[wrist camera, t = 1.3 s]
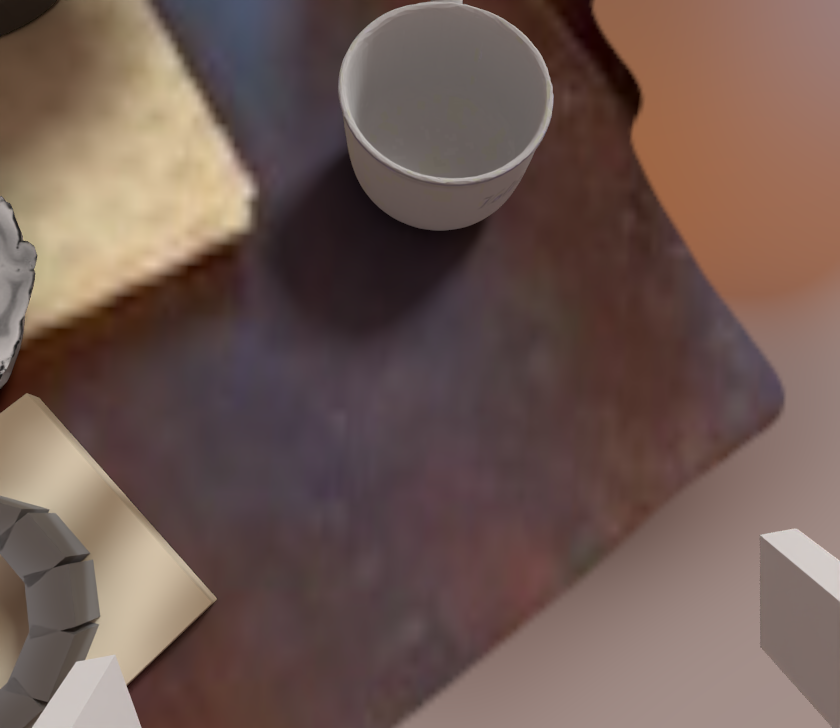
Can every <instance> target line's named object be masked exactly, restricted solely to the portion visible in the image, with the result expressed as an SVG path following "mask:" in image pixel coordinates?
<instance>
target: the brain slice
mask: <svg viewBox="0 0 840 728" xmlns="http://www.w3.org/2000/svg"><path fill="white" fill-rule="evenodd" d="M36 260H37V254H36V250H35V247H34V246H33V245H32V244H31V243H29V242H28V241H23V236H22V233H21V231H20V228H19V226H18V223H17V221H16V218H15V215H14V212H13V208H12V206H11V204H10V203H8V202H6V201H5V200H4V198H3V197H2V196H0V389H1V388H2V387H3V385H4V384H5V383H6V382H7V381H8V379H9V377H10V374H11V372H12V369H13V366H14V364H15V361H16V358H17V355H18V353H19V350H20V346H21V342H22V337H23V332H24V322H25V313H26V310H27V307H28V304H29V300H30V297H31V293H32V290H33V286H34V280H35V271H34V268H35V264H36Z"/></svg>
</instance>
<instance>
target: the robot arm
mask: <svg viewBox="0 0 840 728" xmlns="http://www.w3.org/2000/svg"><path fill="white" fill-rule="evenodd" d="M56 1H57V0H0V35H3V34H5V33H8V32H11V31H13V30H15V29H17V28H19V27H21V26H23V25H25V24H27V23H29V22H30V21H32V20H34V19H35V18H37V17H38V16H39V15H41V14H42V13H44V12H45V11H46V10H47V9H48V8H50V7H51V6H52V5H53V4H54V3H55V2H56ZM760 635H761V636H760V639H761V642H760V643H761V648H762V649H763V650H764V651H765V652H766V654H767V655H768V656H769V657H770V658H771V659H772V660H773V661H774V663H775V664H776V665H777V666H778V667H779V668H780V669H781V670H782V672H783V673H784V674H785V675H786V676H787V677H788V678H789V679H790V680H791V682H792V683H793V684H794V685H795V686H796V687H797V688H798V689H799V691H800V692H801V693H802V694H803V695H804V696H805V697H806V698H807V700H808V701H809V702H810V703H811V704H812V705H813V706H814V707H815V709H816V710H817V711H818V712H819V713H820V714H821V715H822V716H823V718H824V719H825V720H826V721H827V722H828V723H829V724H830V725H831V726H832V728H840V561H839V560H838V559H837V558H835V557H834V556H833V555H831V554H830V553H828V552H827V551H826V550H825V549H823V548H822V547H821V546H819V545H818V544H817V543H815V542H814V541H812V540H811V539H810V538H808V537H807V536H806V535H804V534H803V533H802V532H801V531H799V530H798V529H796V528H795V529H790V530H784V531H779V532H773V533H768V534H763V535H760ZM32 728H141V725H140V722H139V720H138V717H137V714H136V711H135V708H134V706H133V703H132V700H131V697H130V694H129V692H128V689H127V686H126V683H125V680H124V678H123V675H122V672H121V669H120V666H119V663H118V661H117V658H116V655H110V656H104V657H99V658H94V659H88V660H83V661H77V662H76V663H75V664H74V666H73V667H72V669H71V670H70V672H69V673H68V675H67V676H66V678H65V679H64V681H63V682H62V684H61V685H60V687H59V688H58V690H57V691H56V693H55V694H54V696H53V697H52V699H51V700H50V701H49V703H48V704H47V706H46V707H45V709H44V710H43V712H42V713H41V715H40V716H39V718H38V719H37V721H36V722H35V724H34V725H33V727H32Z"/></svg>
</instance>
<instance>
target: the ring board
mask: <svg viewBox="0 0 840 728" xmlns="http://www.w3.org/2000/svg"><path fill="white" fill-rule="evenodd" d="M216 600H217V598H216V597H215V596H214V595H213V594H212V593H211V592H210V590H209V589H208V588H207V587H206V586H205V585H204V584H203V583H202V581H201V580H200V579H199V578H198V577H197V576H196V575H195V573H194V572H193V571H192V570H191V569H190V568H189V567H188V566H187V564H186V563H185V562H184V561H183V560H182V559H181V558H180V557H179V555H178V554H177V553H176V552H175V551H174V550H173V549H172V547H171V546H170V545H169V544H168V543H167V542H166V541H165V540H164V538H163V537H162V536H161V535H160V534H159V533H158V532H157V531H156V529H155V528H154V527H153V526H152V525H151V524H150V523H149V521H148V520H147V519H146V518H145V517H144V516H143V515H142V514H141V512H140V511H139V510H138V509H137V508H136V507H135V506H134V505H133V503H132V502H131V501H130V500H129V499H128V498H127V497H126V495H125V494H124V493H123V492H122V491H121V490H120V489H119V488H118V486H117V485H116V484H115V483H114V482H113V481H112V480H111V479H110V477H109V476H108V475H107V474H106V473H105V472H104V471H103V469H102V468H101V467H100V466H99V465H98V464H97V463H96V462H95V460H94V459H93V458H92V457H91V456H90V455H89V454H88V453H87V451H86V450H85V449H84V448H83V447H82V446H81V445H80V444H79V442H78V441H77V440H76V439H75V438H74V437H73V436H72V434H71V433H70V432H69V431H68V430H67V429H66V428H65V427H64V425H63V424H62V423H61V422H60V421H59V420H58V419H57V418H56V416H55V415H54V414H53V413H52V412H51V411H50V410H49V408H48V407H47V406H46V405H45V404H44V403H43V402H42V401H41V399H40V398H38V397H36V396H33V395H30V394H28V393H26V394H25V395H24V396H22V397H21V398H20V399H19V400H17V401H16V402H15V403H13V404H12V405H11V406H9V407H8V408H7V409H5V410H4V411H3V412H1V413H0V728H32V727H33V725H34V724H35V722H36V721H37V719H38V718H39V716H40V715H41V713H42V712H43V710H44V709H45V707H46V706H47V704H48V703H49V701H50V700H51V699H52V697H53V696H54V694H55V693H56V691H57V690H58V688H59V687H60V685H61V684H62V682H63V681H64V679H65V678H66V676H67V675H68V673H69V672H70V670H71V669H72V667H73V666H74V664H75V663H76V662H77V661H83V660H88V659H94V658H99V657H104V656H110V655H116V658H117V661H118V663H119V666H120V669H121V672H122V675H123V678H124V680H125V683H126V686H127V685H128V684H129V683H130V682H132V681H133V680H134V679H135V678H136V677H137V676H138V675H139V674H140V673H141V672H142V671H143V670H144V669H145V668H146V667H147V666H148V665H149V664H150V663H151V662H152V661H153V660H154V659H156V658H157V657H158V656H159V655H160V654H161V653H162V652H163V651H164V650H165V649H166V648H167V647H168V646H169V645H170V644H171V643H172V642H173V641H174V640H175V639H176V638H177V637H178V636H180V635H181V634H182V633H183V632H184V631H185V630H186V629H187V628H188V627H189V626H190V625H191V624H192V623H193V622H194V621H195V620H196V619H197V618H198V617H199V616H200V615H201V614H202V613H203V612H205V611H206V610H207V609H208V608H209V607H210V606H211V605H212V604H213V603H214V602H215V601H216Z"/></svg>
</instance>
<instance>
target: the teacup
mask: <svg viewBox="0 0 840 728" xmlns="http://www.w3.org/2000/svg"><path fill="white" fill-rule="evenodd" d="M462 1H463V0H431V2H425V3H418V4H415V5H408V6H404V7H401V8H397V9H394V10H392V11H390V12H388V13H386V14H384V15H382V16H381V17H379V18H377V19H376V20H374V21H373V22H372V23H370V24H369V25H368V26H367V27H366V28H365V29H363V30H362V31H361V32H360V34H359V35H358V36H357V37H356V38H355V40H354V41H353V42H352V44H351V46H350V48H349V49H348V51H347V53H346V55H345V57H344V59H343V62H342V65H341V69H340V73H339V79H338V96H339V102H340V107H341V111H342V114H343V117H344V126H345V134H346V140H347V146H348V151H349V156H350V160H351V163H352V166H353V169H354V172H355V175H356V177H357V179H358V181H359V183H360V185H361V187H362V188H363V190H364V191H365V193H366V194H367V195H368V196H369V198H370V199H371V200H372V201H373V202H374V203H375V204H376V205H377V206H378V207H379V208H380V209H381V210H382V211H384V212H385V213H387V214H388V215H389V216H391V217H393V218H394V219H396V220H398V221H400V222H402V223H405V224H407V225H410V226H413V227H416V228H420V229H426V230H436V231H444V230H454V229H459V228H464V227H467V226H470V225H473V224H475V223H477V222H479V221H481V220H483V219H485V218H486V217H488V216H489V215H491V214H492V213H494V212H495V211H496V210H497V209H499V208H500V207H501V206H502V205H503V204H504V203H505V202H506V201H507V199H508V198H509V197H510V195H511V194H512V193H513V192H514V190H515V188H516V187H517V185H518V184H519V182H520V180H521V178H522V176H523V175H524V173H525V171H526V169H527V167H528V165H529V163H530V161H531V159H532V157H533V154H534V152H535V150H536V148H537V147H538V145H539V144H540V142H541V141H542V139H543V137H544V136H545V133H546V131H547V128H548V126H549V123H550V120H551V117H552V109H553V97H554V95H553V87H552V84H551V82H550V77H549V73H548V69H547V67H546V64H545V62H544V60H543V58H542V56H541V54H540V53H539V51H538V50H537V49H536V47H535V46H534V45H533V44H532V43H531V41H530V40H529V39H528V38H527V37H526V36H525V35H524V34H523V33H522V32H521V31H520V30H518V29H517V28H516V27H515V26H513V25H512V24H510V23H509V22H507V21H506V20H504V19H503V18H501V17H499V16H497V15H495V14H493V13H490V12H488V11H485V10H482V9H479V8H476V7H472V6H469V5H466V4H462Z"/></svg>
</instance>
